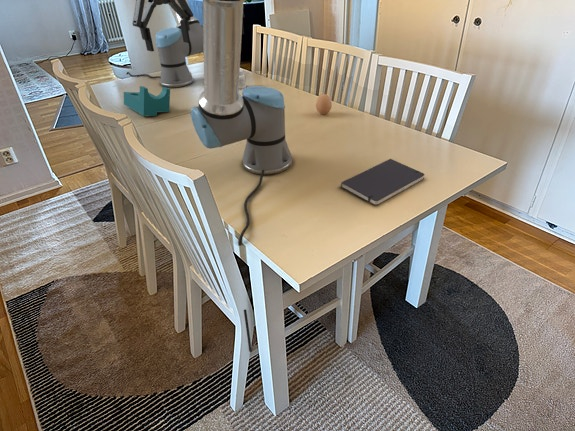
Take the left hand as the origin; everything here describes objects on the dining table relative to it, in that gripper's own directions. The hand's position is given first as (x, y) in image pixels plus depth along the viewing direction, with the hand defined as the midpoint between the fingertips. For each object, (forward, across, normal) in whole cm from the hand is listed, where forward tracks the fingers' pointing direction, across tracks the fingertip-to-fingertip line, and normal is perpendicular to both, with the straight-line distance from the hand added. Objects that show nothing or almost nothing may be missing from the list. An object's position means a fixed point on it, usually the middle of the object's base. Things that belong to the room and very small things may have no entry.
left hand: (236, 37), depth 173 cm
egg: (+22, +29, +40) cm, 54 cm away
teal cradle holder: (+22, +30, -32) cm, 49 cm away
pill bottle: (+22, 0, 0) cm, 22 cm away
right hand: (-8, +52, -8) cm, 54 cm away
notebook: (+22, +79, +61) cm, 102 cm away
